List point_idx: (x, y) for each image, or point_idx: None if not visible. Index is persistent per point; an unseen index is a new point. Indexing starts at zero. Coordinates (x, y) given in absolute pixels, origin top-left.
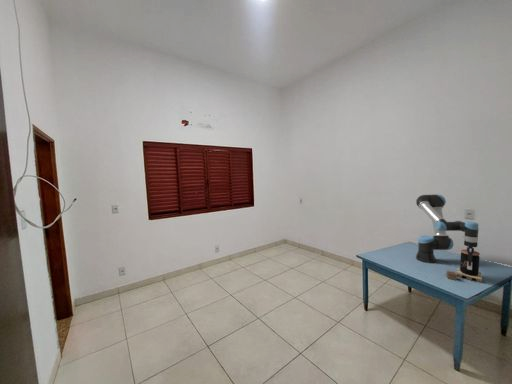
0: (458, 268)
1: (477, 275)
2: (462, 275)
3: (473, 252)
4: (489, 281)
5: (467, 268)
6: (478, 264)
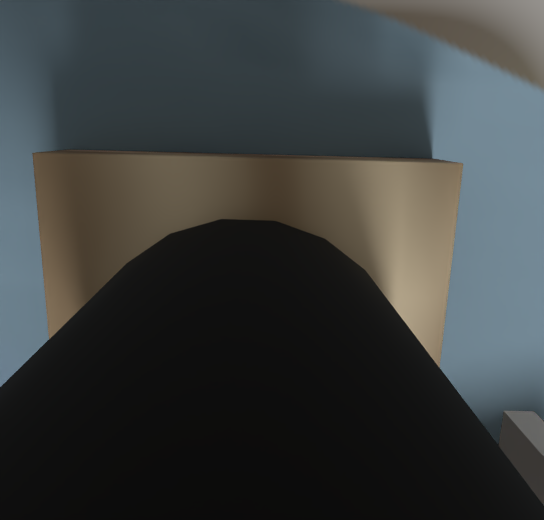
0: None
1: None
2: None
3: None
4: (257, 35)
5: None
6: (357, 334)
